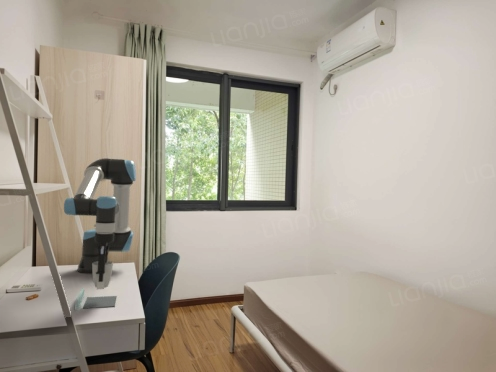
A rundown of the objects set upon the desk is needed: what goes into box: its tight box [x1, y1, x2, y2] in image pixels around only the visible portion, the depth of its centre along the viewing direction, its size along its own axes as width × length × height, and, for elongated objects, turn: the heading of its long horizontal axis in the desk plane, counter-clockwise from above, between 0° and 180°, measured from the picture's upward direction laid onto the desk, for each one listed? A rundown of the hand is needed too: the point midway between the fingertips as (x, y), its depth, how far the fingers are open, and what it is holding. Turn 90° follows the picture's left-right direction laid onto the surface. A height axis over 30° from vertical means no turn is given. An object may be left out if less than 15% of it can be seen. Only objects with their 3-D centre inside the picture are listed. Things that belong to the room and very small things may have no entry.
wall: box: [74, 288, 85, 311], centre depth 133 cm, size 14×1×4 cm, turn 19°
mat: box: [82, 295, 118, 310], centre depth 136 cm, size 12×12×1 cm
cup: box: [91, 260, 114, 289], centre depth 136 cm, size 8×8×10 cm
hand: (101, 285), depth 136 cm, fingers closed on cup, 8 cm apart
